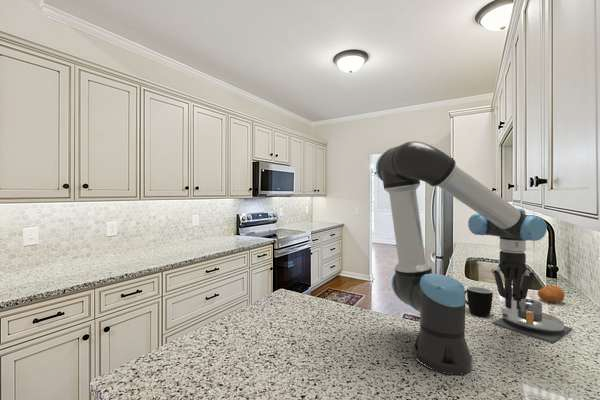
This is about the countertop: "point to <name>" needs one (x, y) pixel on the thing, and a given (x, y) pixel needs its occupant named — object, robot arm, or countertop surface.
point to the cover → (530, 309)
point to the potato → (551, 294)
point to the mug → (479, 301)
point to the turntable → (546, 324)
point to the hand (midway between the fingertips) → (512, 317)
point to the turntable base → (533, 331)
